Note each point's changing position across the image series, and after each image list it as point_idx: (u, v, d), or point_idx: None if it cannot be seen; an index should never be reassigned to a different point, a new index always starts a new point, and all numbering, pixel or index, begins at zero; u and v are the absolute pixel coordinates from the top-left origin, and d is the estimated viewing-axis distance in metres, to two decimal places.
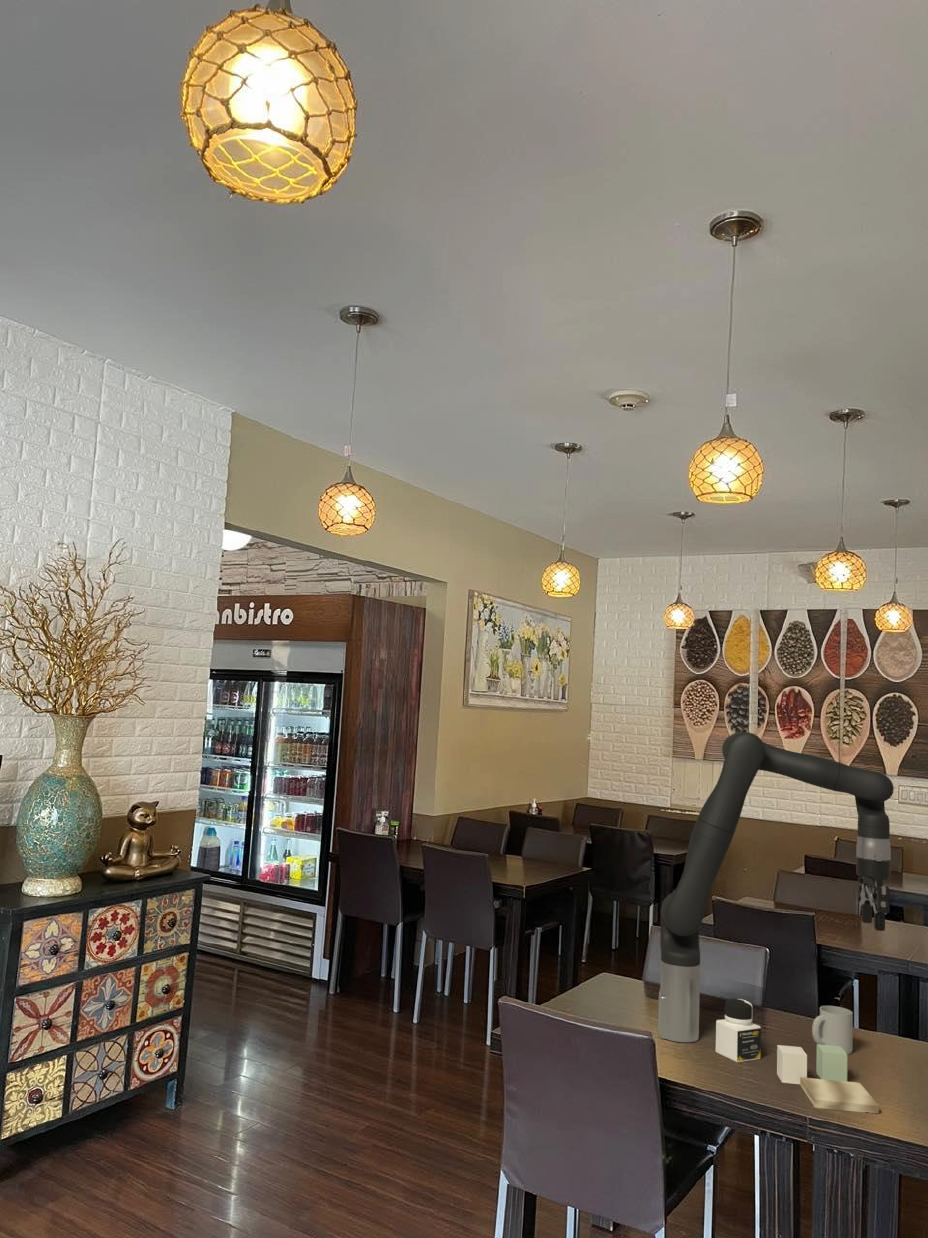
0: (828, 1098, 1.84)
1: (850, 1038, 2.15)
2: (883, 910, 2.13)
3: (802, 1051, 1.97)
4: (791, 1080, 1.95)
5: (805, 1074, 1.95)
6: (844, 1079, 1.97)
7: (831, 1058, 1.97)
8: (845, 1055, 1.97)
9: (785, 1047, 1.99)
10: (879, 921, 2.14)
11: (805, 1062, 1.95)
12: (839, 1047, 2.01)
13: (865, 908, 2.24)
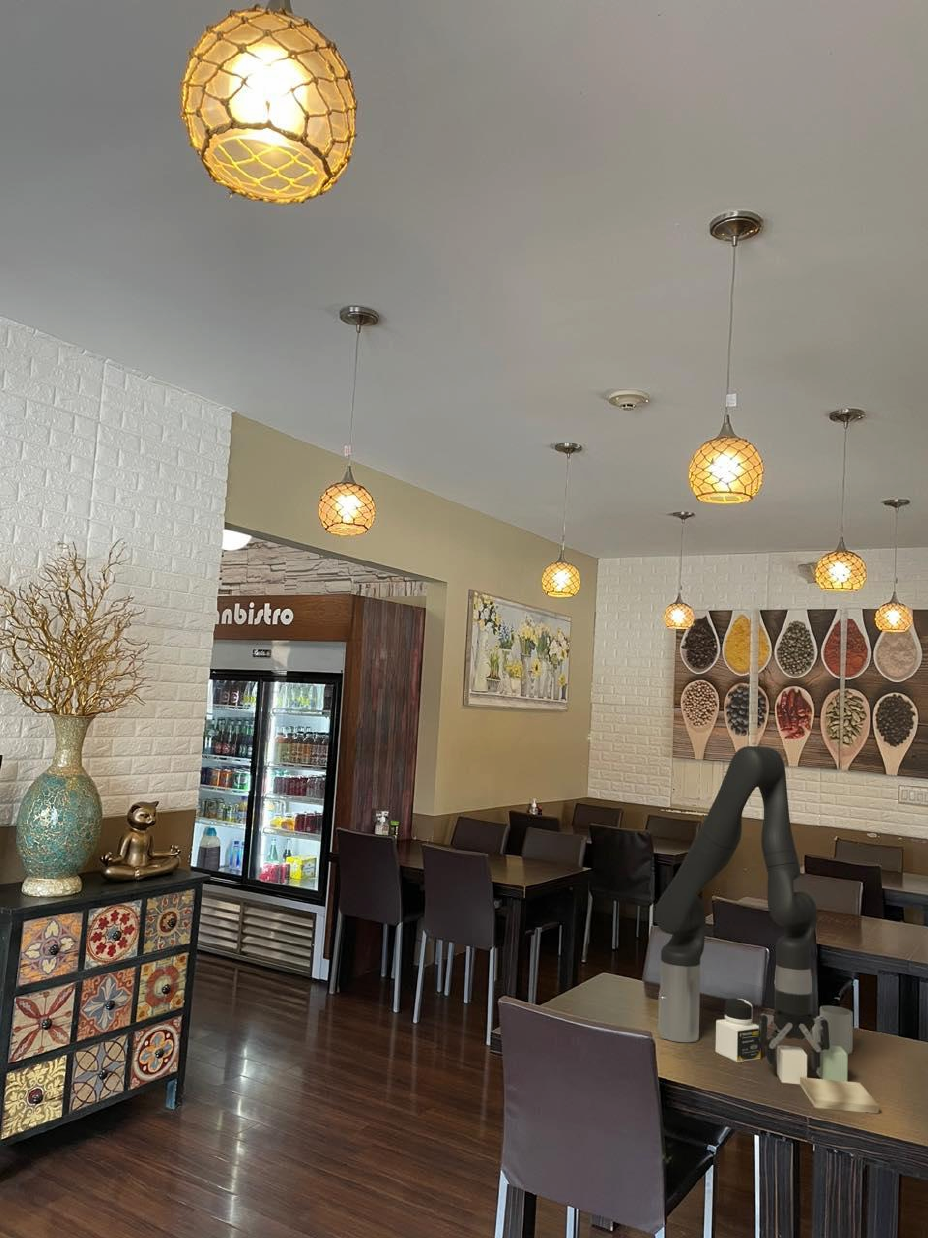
0: (828, 1098, 1.84)
1: (850, 1038, 2.15)
2: None
3: (802, 1051, 1.97)
4: (791, 1080, 1.95)
5: (805, 1074, 1.95)
6: (844, 1079, 1.97)
7: (831, 1058, 1.97)
8: (845, 1055, 1.97)
9: (785, 1047, 1.99)
10: None
11: (805, 1062, 1.95)
12: (839, 1047, 2.01)
13: None
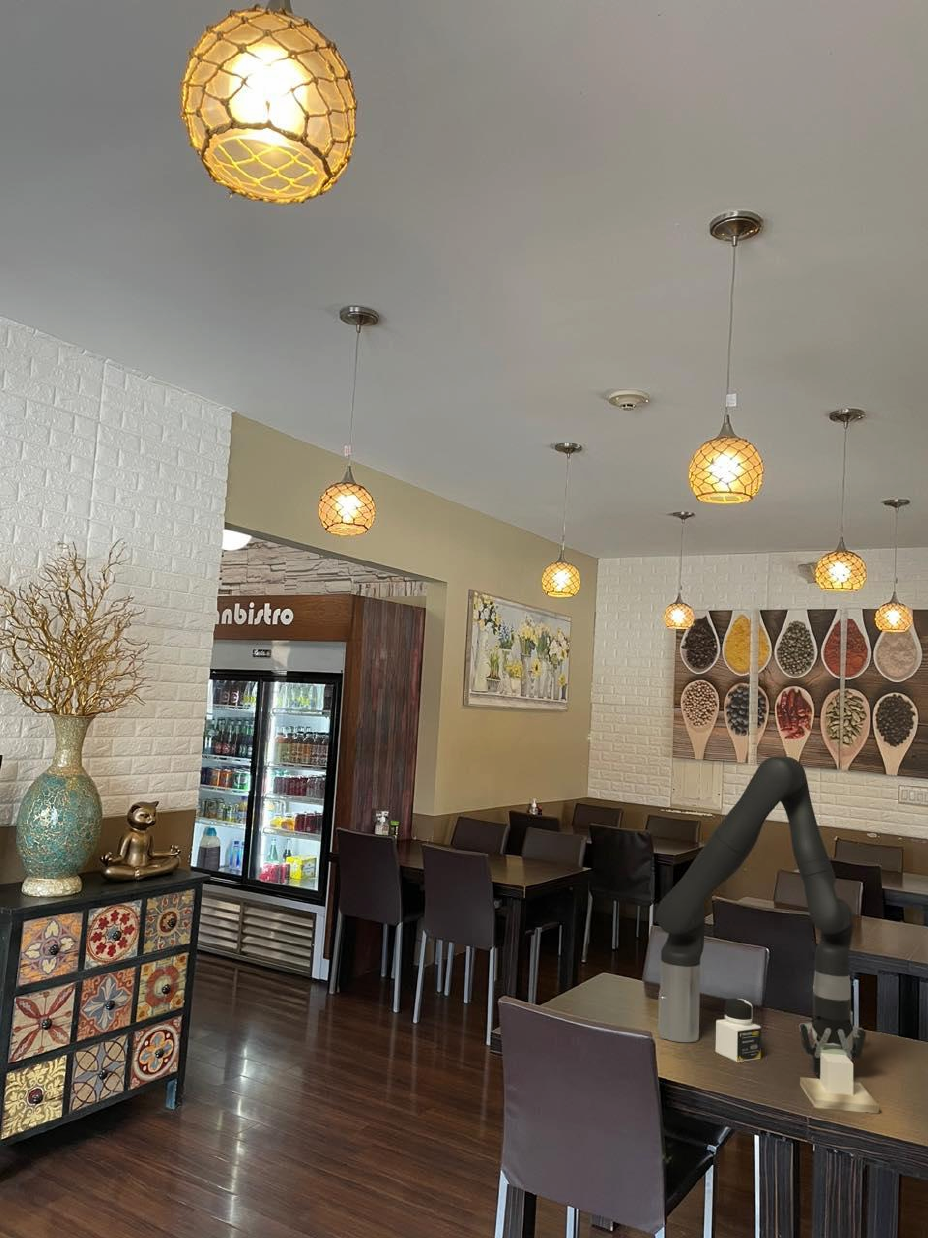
0: (828, 1098, 1.84)
1: (850, 1038, 2.15)
2: None
3: (847, 1059, 1.89)
4: (837, 1090, 1.86)
5: (851, 1083, 1.86)
6: None
7: None
8: (844, 1054, 1.97)
9: (829, 1055, 1.91)
10: None
11: (851, 1071, 1.87)
12: (839, 1046, 2.01)
13: None
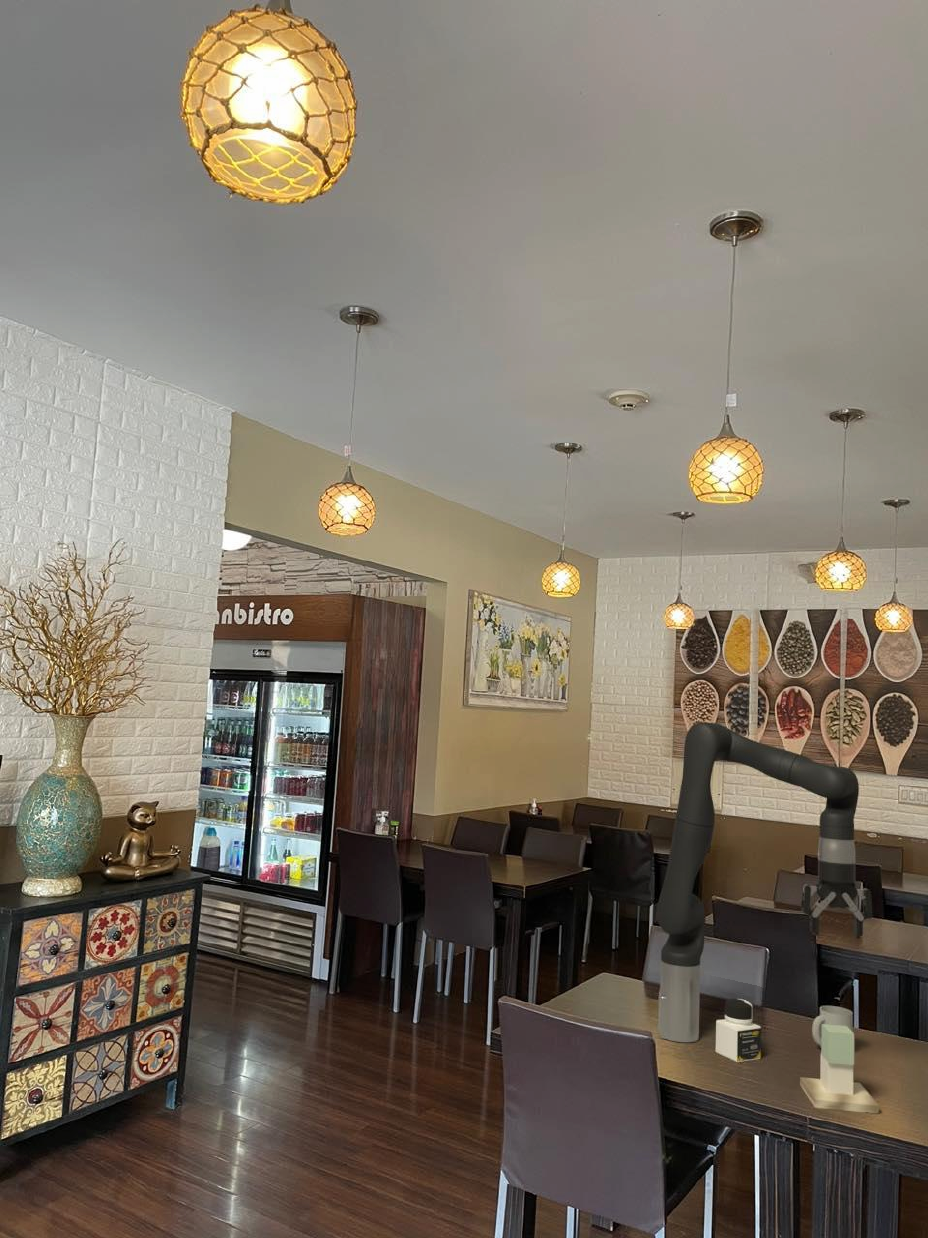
0: (828, 1098, 1.84)
1: None
2: None
3: None
4: (837, 1090, 1.86)
5: (851, 1083, 1.86)
6: (851, 1060, 1.86)
7: (837, 1038, 1.87)
8: (852, 1035, 1.87)
9: None
10: None
11: (851, 1071, 1.87)
12: (845, 1027, 1.91)
13: None
